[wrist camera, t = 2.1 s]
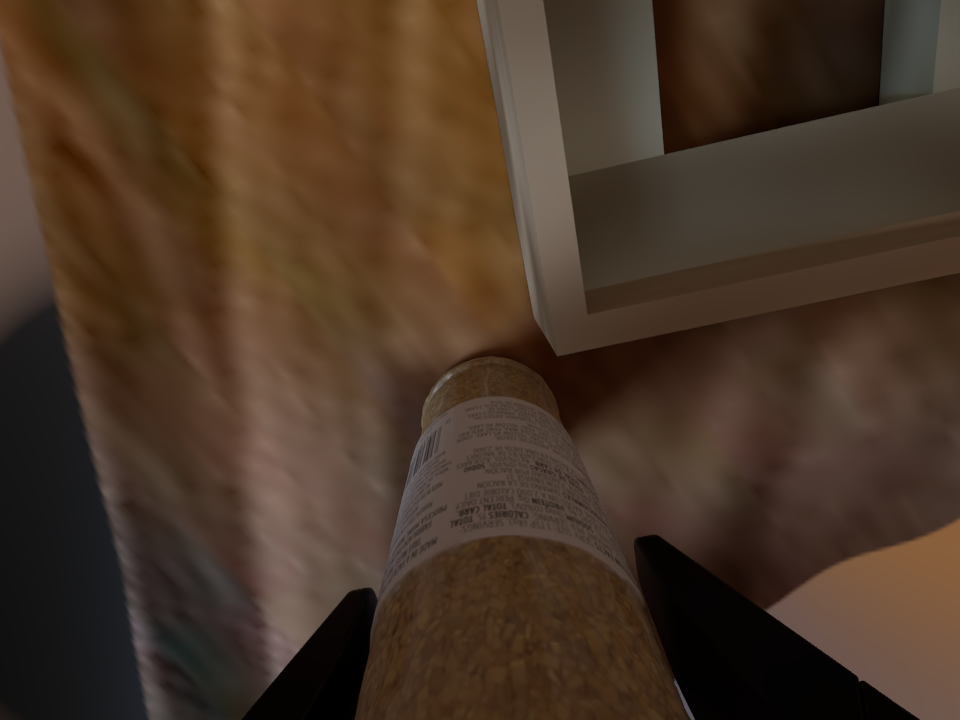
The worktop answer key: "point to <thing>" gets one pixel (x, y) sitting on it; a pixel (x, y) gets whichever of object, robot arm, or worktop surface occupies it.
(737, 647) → the robot arm
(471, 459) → the sprinkles bottle
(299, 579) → the worktop surface
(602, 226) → the peg box
